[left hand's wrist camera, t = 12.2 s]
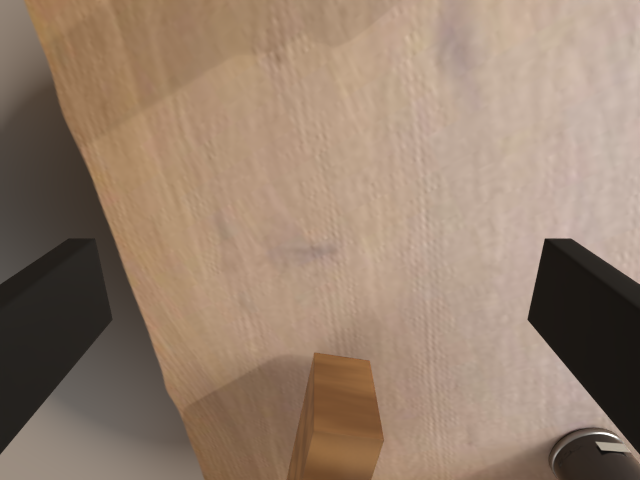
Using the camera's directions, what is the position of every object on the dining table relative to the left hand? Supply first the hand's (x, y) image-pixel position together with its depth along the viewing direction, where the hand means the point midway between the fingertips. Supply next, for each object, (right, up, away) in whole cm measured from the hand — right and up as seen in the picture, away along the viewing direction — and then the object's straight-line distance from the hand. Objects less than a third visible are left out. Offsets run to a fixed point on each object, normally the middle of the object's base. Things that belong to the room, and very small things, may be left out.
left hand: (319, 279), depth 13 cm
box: (0, -21, +37) cm, 43 cm away
